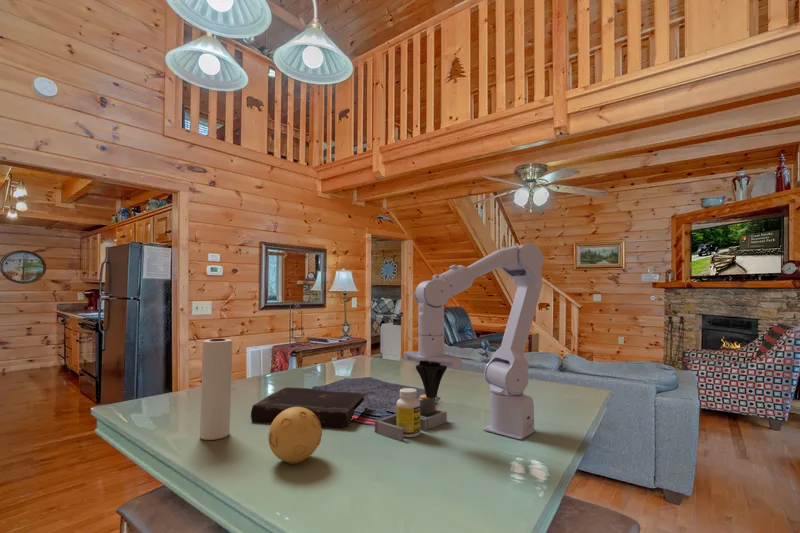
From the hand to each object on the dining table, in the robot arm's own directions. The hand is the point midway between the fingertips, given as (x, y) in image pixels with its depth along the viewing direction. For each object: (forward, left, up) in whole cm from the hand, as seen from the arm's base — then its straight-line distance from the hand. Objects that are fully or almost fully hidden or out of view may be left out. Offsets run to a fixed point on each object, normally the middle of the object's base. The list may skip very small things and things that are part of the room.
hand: (431, 397), depth 87 cm
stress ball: (+13, +26, -10) cm, 31 cm away
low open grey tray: (+13, -4, -9) cm, 17 cm away
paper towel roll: (+38, +30, -10) cm, 49 cm away
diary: (+35, +6, -10) cm, 36 cm away
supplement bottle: (+6, 0, -10) cm, 11 cm away
